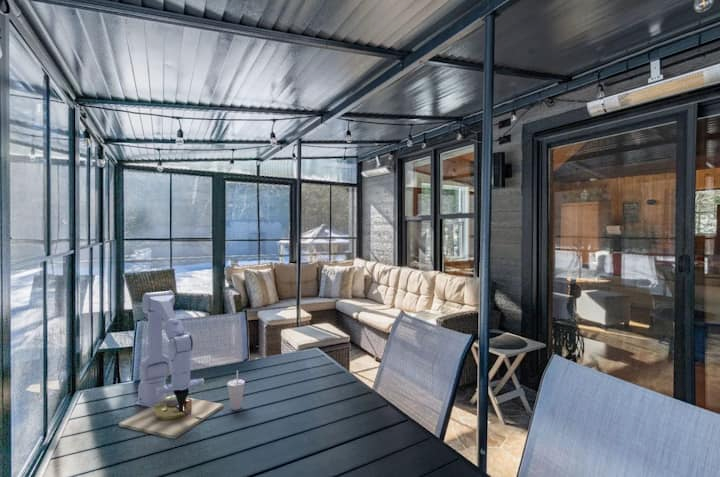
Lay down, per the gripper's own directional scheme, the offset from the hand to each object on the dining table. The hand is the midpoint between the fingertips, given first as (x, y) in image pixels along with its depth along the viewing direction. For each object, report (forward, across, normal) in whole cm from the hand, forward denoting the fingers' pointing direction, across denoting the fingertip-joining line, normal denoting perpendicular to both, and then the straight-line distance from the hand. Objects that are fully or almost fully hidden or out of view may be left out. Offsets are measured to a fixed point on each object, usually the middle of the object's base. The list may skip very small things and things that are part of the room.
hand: (181, 410), depth 131 cm
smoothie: (+6, +20, +4) cm, 21 cm away
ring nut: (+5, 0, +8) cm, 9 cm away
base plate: (+6, 0, +11) cm, 12 cm away
